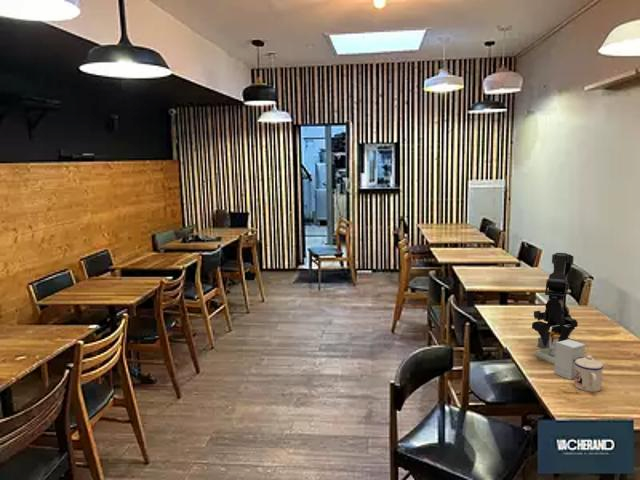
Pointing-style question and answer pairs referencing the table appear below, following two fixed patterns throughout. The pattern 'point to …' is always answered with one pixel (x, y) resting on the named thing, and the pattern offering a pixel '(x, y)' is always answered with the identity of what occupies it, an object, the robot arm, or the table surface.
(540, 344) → the bracket
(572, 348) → the supplement box
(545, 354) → the tray
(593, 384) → the teacup with lid
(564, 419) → the table surface
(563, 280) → the robot arm
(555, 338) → the pin
